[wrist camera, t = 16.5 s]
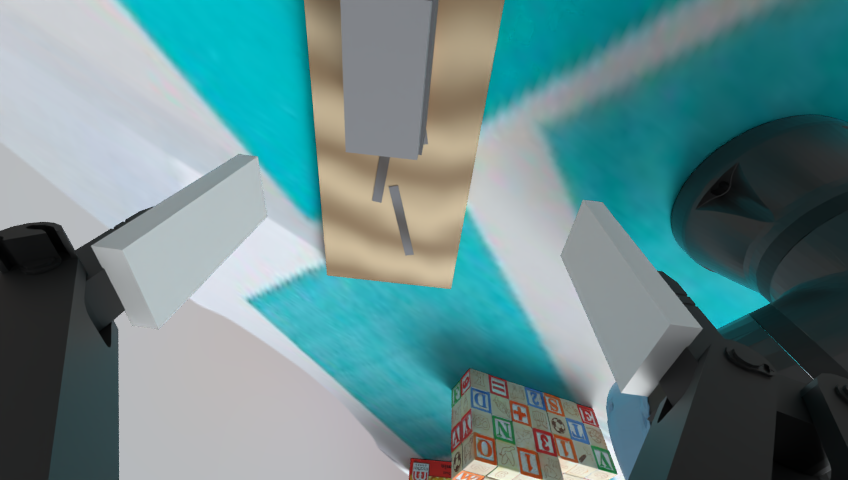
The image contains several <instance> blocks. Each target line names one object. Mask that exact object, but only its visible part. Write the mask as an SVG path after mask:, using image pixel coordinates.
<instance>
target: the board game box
mask: <svg viewBox="0 0 848 480" xmlns="http://www.w3.org/2000/svg"><path fill="white" fill-rule="evenodd" d="M451 469H452V462H445V461H434V460H423V459H414V458H411V462H410V471H409V480H452V479H451Z"/></svg>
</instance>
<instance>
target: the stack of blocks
mask: <svg viewBox="0 0 848 480" xmlns="http://www.w3.org/2000/svg"><path fill="white" fill-rule="evenodd" d="M451 453H452V469H451V479H452V480H609V479H611V478H612V477H614V476H616V475H617V471H616V469H615V466H614V463H613V460H612V458H611V455H610V452H609V451H608V449H607V446H606V443H605V440H604V438H603V435H602V432H601V429H600V428H599V425H598V422H597V419H596V416H595V413H594V411H593V409H592V408H589V407H585V406H582V405H579V404H576V403H574V402H572V401H569V400H566V399H562V398H559V397H556V396H553V395H550V394H547V393H544V392H540V391H537V390H534V389H531V388H528V387H524V386H522V385H518V384H515V383H512V382H509V381H506V380H504V379H501V378H498V377H495V376H492V375H489V374H486V373H483V372H480V371H477V370H474V369H471V368H469V370H468V371H467V372H466V373H465V374H464V376H463V377H462V378H461V379H460V381H459V382H458V383H457V384H456V386H455V387H454V388H453V389H452V431H451Z"/></svg>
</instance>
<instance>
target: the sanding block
mask: <svg viewBox="0 0 848 480" xmlns="http://www.w3.org/2000/svg"><path fill="white" fill-rule="evenodd" d="M438 4H439V0H340V6H341V34H342V63H343V91H344V120H345V148H346V152H349V153H358V154H367V155H375V156H384V157H393V158H402V159H411V160H417V158H418V155H422V150H423V145H424V139H425V134H426V127H427V117H428V107H429V97H430V86H431V76H432V66H433V56H434V45H435V35H436V25H437V14H438Z"/></svg>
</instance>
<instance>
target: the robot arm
mask: <svg viewBox="0 0 848 480" xmlns="http://www.w3.org/2000/svg"><path fill="white" fill-rule="evenodd" d="M266 217H267V210H266V204H265V198H264V192H263V186H262V180H261V174H260V168H259V162H258V157H257V156H249V155H242V154H238V155H237V156H235V157H233V158H232V159H230V160H229V161H227V162H225V163H224V164H222V165H220V166H219V167H217V168H216V169H214V170H212V171H211V172H209V173H208V174H206V175H204V176H203V177H201V178H199V179H198V180H196V181H195V182H193V183H191V184H190V185H188V186H187V187H185V188H183V189H182V190H180V191H179V192H177V193H175V194H174V195H172V196H170V197H169V198H167V199H166V200H164V201H162V202H161V203H159V204H158V205H156V206H153V207H151V208H148V209H145V210H142V211H139V212H138V213H136V214H134V215H133V216H131V217H130V218H128V219H126V220H125V222H121V223H120V224H118V225H116V226H115V227H114V229H110V230H108V231H107V232H105V233H103V234H102V235H100V236H98V237H97V238H95V239H93V240H92V241H90V242H88V243H87V244H85V245H84V246H82V247H80V248H78V249H77V250H74V248H73V246H72V244H71V242H70V241H69V239H68V237H67V235H66V233H65V232H64V230H63V228H62V226H61V225H58V224H56V223H50V222H38V223H27V224H23V225H19V226H13V227H10V228H7V229H4V230H2V231H0V480H119V405H118V402H119V395H118V394H119V393H118V328H117V326H116V324H115V322H114V319H115V318H116V317H118V315H120V314H121V313H122V312H123V311H125V313H126V315H127V316H128V318H129V321H130V322H131V324H132V326H137V327H145V328H152V329H160V328H161V327H162V326H163V325H164V323H165V322H166V321H167V320H168V319H169V318H170V317H171V316H172V315H173V314H174V313H175V312H176V311H177V310H178V309H179V308H180V307H181V306H182V305H183V304H184V303H185V302H186V301H187V300H188V299H189V298H190V297H191V295H192V294H193V293H194V292H195V291H196V290H197V289H198V288H199V287H200V286H201V285H202V284H203V283H204V282H205V281H206V280H207V279H208V278H209V277H210V276H211V275H212V274H213V273H214V272H215V270H216V269H217V268H218V267H219V266H220V265H221V264H222V263H223V262H224V261H225V260H226V259H227V258H228V257H229V256H230V255H231V254H232V253H233V252H234V251H235V250H236V249H237V248H238V247H239V245H240V244H241V243H242V242H243V241H244V240H245V239H246V238H247V237H248V236H249V235H250V234H251V233H252V232H253V231H254V230H255V229H256V228H257V227H258V226H259V225H260V224H261V223H262V222H263V220H264V219H265V218H266ZM671 225H672V232H673V235H674V238H675V240H676V241H677V243H678V244H679V246H680V247H681V248H682V249H683V250H684V251H685V252H686V253H687V254H688V255H689V256H690V257H691V258H692V259H693V260H694V261H695V262H696V263H698V264H699V265H701V266H702V267H704V268H706V269H708V270H710V271H713V272H716V273H718V274H720V275H722V276H724V277H726V278H728V279H730V280H732V281H734V282H737V283H739V284H741V285H743V286H745V287H747V288H750V289H752V290H754V291H756V292H758V293H760V294H761V295H762V296H764V297H765V298H766V299H767V300H768V301H769V302H770V304H768V305H766V306H764V307H762V308H760V309H758V310H756V311H754V312H752V313H749V314H747V315H745V316H743V317H741V318H739V319H737V320H735V321H733V322H731V323H729V324H727V325H725V326H723V327H721V328H719V329H716V328H715V327H714V326H713V325H712V323H711V322H710V321H709V320H708V319H707V317H706V316H705V315H704V314H703V313H702V311H701V310H700V309H699V308H698V307H696V306H695V303H694V302H693V301H692V300H691V298H690V297H687V294H686V292H685V291H684V290H683V289H682V288H681V286H680V285H679V284H678V283H677V282H676V281H674V280H673V279H672V278H670V277H669V276H668V275H666V274H665V273H664V272H661V271H657V270H656V269H655V268H654V267H653V265H652V264H651V263H650V262H649V260H648V259H647V258H646V257H645V255H644V254H643V253H642V252H641V250H640V249H639V248H638V246H637V245H636V244H635V243H634V241H633V240H632V239H631V238H630V236H629V235H628V234H627V233H626V231H625V230H624V229H623V228H622V226H621V225H620V224H619V223H618V221H617V220H616V219H615V218H614V216H613V215H612V214H611V213H610V211H609V210H608V209H607V208H606V206H605V205H604V204H603V202H597V201H589V200H583V201H582V204H581V206H580V209H579V211H578V214H577V216H576V219H575V221H574V224H573V226H572V229H571V231H570V234H569V236H568V239H567V241H566V243H565V246H564V248H563V251H562V253H561V257H562V260H563V262H564V264H565V267H566V269H567V271H568V273H569V276H570V278H571V280H572V282H573V285H574V287H575V289H576V292H577V294H578V296H579V298H580V301H581V303H582V305H583V307H584V310H585V312H586V314H587V317H588V319H589V321H590V323H591V326H592V328H593V330H594V332H595V335H596V337H597V339H598V342H599V344H600V346H601V348H602V351H603V353H604V355H605V358H606V360H607V362H608V364H609V367H610V369H611V371H612V373H613V376H614V378H615V380H616V382H615V383H614V384H613V386H612V387H611V389H610V391H609V394H608V397H607V405H606V410H607V417H608V421H607V422H608V428H609V433H610V437H611V441H612V445H613V448H614V451H615V454H616V457H617V460H618V463H619V465H620V468H621V471H622V473H623V475H624V478H625V480H848V122H846V121H843V120H839V119H836V118H832V117H828V116H821V115H801V116H793V117H787V118H783V119H779V120H775V121H772V122H769V123H766V124H763V125H760V126H758V127H755V128H753V129H751V130H749V131H747V132H745V133H743V134H741V135H739V136H737V137H736V138H734V139H732V140H731V141H729V142H728V143H726V144H725V145H723V146H722V147H720V148H719V149H718V150H716V151H715V152H714V153H713V154H711V155H710V156H709V157H708V158H707V159H706V160H705V161H704V162H703V163H702V164H700V166H699V167H698V168H697V169H696V170H695V171H694V172H693V173H692V174H691V176H690V177H689V178H688V180H687V181H686V183H685V184H684V186H683V187H682V189H681V191H680V192H679V194H678V197H677V199H676V201H675V204H674V207H673V211H672V218H671ZM788 353H789V354H790V355H791V356H792V357H793V358H794V359H795V360H796V361H797V362H798V363H799V364H800V365H799V364H798V363H797V362H796V361H795V360H794V359H793V358H792V357H791V356H790V355H789V354H788ZM801 367H802V368H803V369H804V370H805V371H806V372H807V373H808V374H809V375H810V376H811V377H812V378H813V379H814V380H813V379H812V378H811V377H810V376H809V375H808V374H807V373H806V372H805V371H804V370H803V369H802V368H801Z"/></svg>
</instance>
